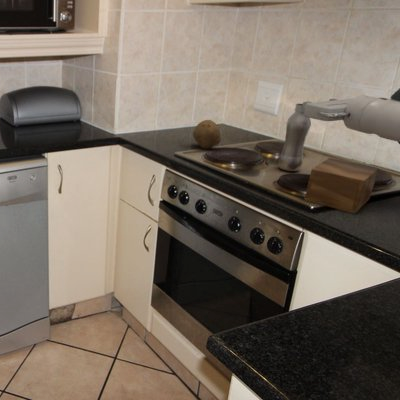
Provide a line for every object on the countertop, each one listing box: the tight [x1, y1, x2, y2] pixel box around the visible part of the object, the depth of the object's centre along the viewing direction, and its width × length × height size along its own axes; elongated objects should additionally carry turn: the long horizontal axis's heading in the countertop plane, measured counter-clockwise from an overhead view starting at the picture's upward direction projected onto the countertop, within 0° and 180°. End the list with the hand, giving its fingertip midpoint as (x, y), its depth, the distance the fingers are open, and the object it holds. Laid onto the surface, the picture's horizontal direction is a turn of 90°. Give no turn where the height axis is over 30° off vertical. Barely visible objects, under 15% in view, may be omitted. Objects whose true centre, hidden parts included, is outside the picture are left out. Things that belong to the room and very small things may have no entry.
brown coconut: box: [192, 119, 222, 150], centre depth 165 cm, size 9×9×10 cm
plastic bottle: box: [277, 103, 312, 172], centre depth 142 cm, size 6×7×20 cm
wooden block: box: [303, 157, 379, 214], centre depth 123 cm, size 14×12×9 cm
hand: (317, 103), depth 134 cm, fingers open, 8 cm apart
